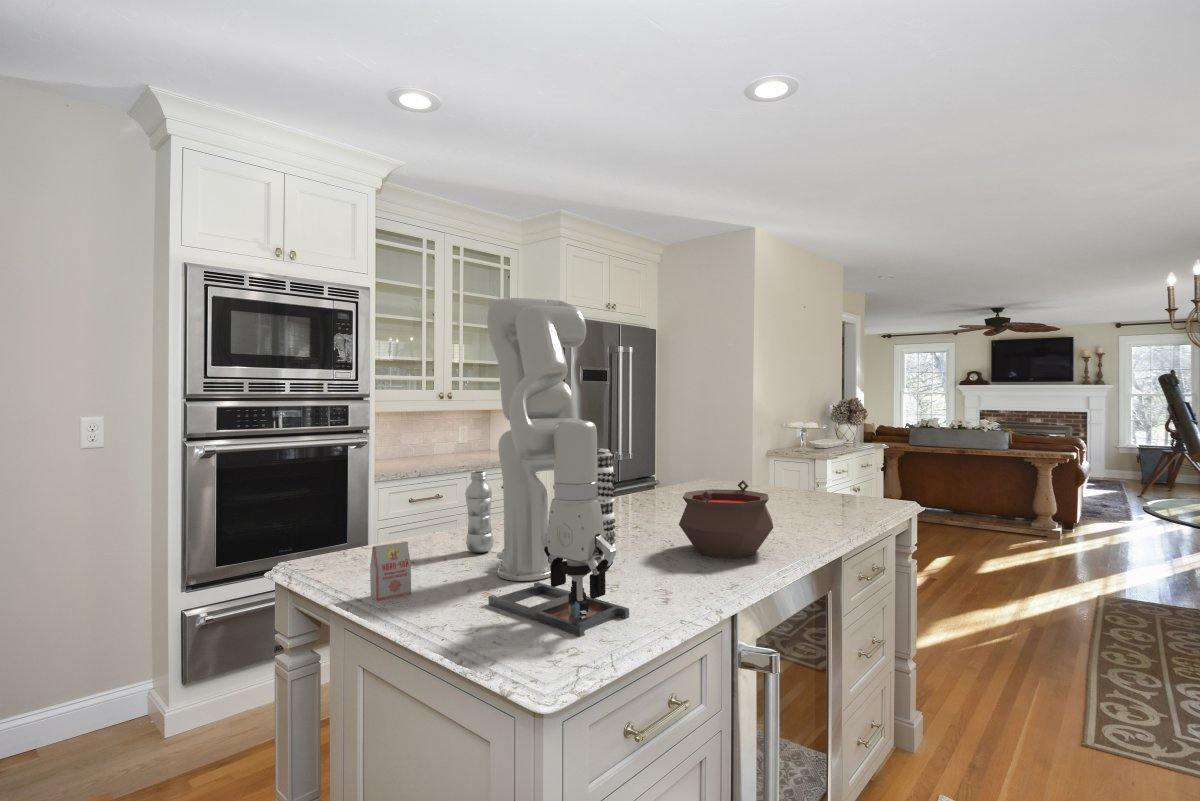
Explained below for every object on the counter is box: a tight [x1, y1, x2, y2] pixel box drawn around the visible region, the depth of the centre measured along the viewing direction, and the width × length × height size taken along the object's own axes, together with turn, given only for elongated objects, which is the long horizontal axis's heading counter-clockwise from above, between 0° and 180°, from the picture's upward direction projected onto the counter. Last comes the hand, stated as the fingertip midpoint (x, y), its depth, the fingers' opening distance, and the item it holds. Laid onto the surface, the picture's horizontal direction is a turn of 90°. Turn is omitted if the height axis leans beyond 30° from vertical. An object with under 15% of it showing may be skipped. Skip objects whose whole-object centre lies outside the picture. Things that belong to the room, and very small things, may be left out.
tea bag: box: [369, 541, 412, 602], centre depth 124 cm, size 4×7×10 cm, turn 126°
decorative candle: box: [597, 447, 617, 549], centre depth 161 cm, size 9×9×25 cm
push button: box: [562, 559, 592, 619], centre depth 109 cm, size 7×5×10 cm
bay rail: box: [487, 581, 630, 638], centre depth 113 cm, size 24×12×2 cm, turn 47°
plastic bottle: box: [464, 470, 495, 554], centre depth 157 cm, size 6×7×20 cm
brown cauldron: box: [678, 479, 774, 559], centre depth 155 cm, size 24×24×16 cm
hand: (577, 590), depth 109 cm, fingers open, 9 cm apart
